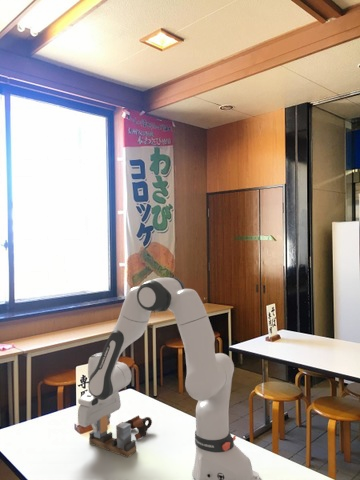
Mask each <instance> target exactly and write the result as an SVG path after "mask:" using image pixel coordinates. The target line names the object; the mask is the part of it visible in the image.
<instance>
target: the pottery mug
mask: <svg viewBox="0 0 360 480" xmlns="http://www.w3.org/2000/svg"><path fill="white" fill-rule="evenodd" d="M124 422H125V423H129V424H131V431H133V430H135V429H137V433H136V434H134V438H135V440H136V441H138V440H140V439H142V438H144V437H146V436H147V432H148V431H149V429H150V427H152V423H153V420H152V418H151V417H149V416H145V417H144V418H141V417H140V415H137V416H135V417H133V418H131V419H129V420H127V421H124ZM147 422H148V423H147ZM146 423H147V424H146Z"/></svg>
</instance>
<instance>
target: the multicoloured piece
mask: <svg viewBox="0 0 360 480" xmlns="http://www.w3.org/2000/svg"><path fill="white" fill-rule="evenodd" d="M96 426H98V427H99V431H98V432H96V433H95V432H94V437H97V438H101V437H103V436H105V435H106V434H108V429H109V428H108V427H109V425H108V422H107V415H106V416H104V417H102V418H101V419H100V420H98V421H97V424H96Z"/></svg>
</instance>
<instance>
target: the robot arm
mask: <svg viewBox="0 0 360 480" xmlns="http://www.w3.org/2000/svg"><path fill="white" fill-rule="evenodd" d="M124 298H125V299H124V301H123V303H122V305H121V309H120V312H119V316H118V319H117V321H116V323H115V326H114V327H113V329H112V332H111V333H110V335H109V337H108V338H107V341H106V343H105V345H104V347H103V350H102V351H101V352H97V353H95V354H92V355H91V356H90V357H89V358H88V362H87V377H88V383H87V385H88V386H87V387H88V388H87V390H86V391H85V392H84V394H82V395H81V396H80V397H79V398H78V400H77V401H78V402H77V403H78V404H79V406H78V409H77V423H78V425H79V426H80V427H83V428H87V427H89V426H91V427H92V431H93V432H95V433H96V432H98V431H99V427H98V426H96V424H97V421H98V420H100V419H101V418H102V417H104V416H106V415H107V422H108V426H109V423H110V420H111V416H112V415H111V414H112V413H113V414H114V413H115V412H117V411H119V410H120V409H121V407H122V406H121V405H122V403H121V396H120V393H119V391H120V390H122V389H124V388H125V387H127V386H128V385H130V384H131V382H132V379H133V374H132V370H131V368H130V366H129V365H127V364H126V363H125V362H122V361H121V362H120V361H119V358H120V356H121V354H122V353H123V352H124V351H125V350H126V348H128V347H129V346H130V345H131V344H133V343H134V342H135V341H137V340H138V339H140V338H141V337H142V336H143V335H144V333H145V331H146V329H147V327H148V323H149V320H150V317H151V314H152V312H167V311H168V310H169V311H170V312H171V313H172V315H174V316H173V317H174V319H175V322H176V325H177V329H178V332H179V334H180V337H181V341H182V344H183V348H184V353H185V354H184V355H185V364H186V377H185V382H184V385H185V390H186V393H188V395H189V396H190V397H191V398H192V399H194V400H196V401H197V403H196V406H195V432H194V443H195V459H194V465H193V469H192V477H193V478H194V480H261V479H260V478H261V477H260V474H259V472H257V471H255V470H253V465H252V462H251V459H250V458H249V456H247V455H246V454H245V453H244V452H243V451H242V450H241V449H240V448H239V447H238V446H237V445H236V444H235V442H234V441H236V439H237V438H236V437H237V435H236V434H234V436H233V437H232V434H231V432H230V430H229V429H230V428H229V426H230V425H229V424H230V423H229V420H230V419H229V409H230V408H229V405H230V400H231V399H230V398H231V390H232V383H233V376H234V372H235V364H234V362H233V359H232V358H231V357H230V356H229V355H227V354H226V353H223V352H218V353H216V348H215V341H216V336H215V333H214V330H213V327H212V324H211V322H210V319H209V314H208V313H207V310H206V307H205V305H204V302H203V301H202V299H201V297H200V295H199V294H198V292H197V291H196V290H195V289H193V288H186V286H185V284H184V282H183V281H182V280H181V279H179V277H178V278H177V277H176V276H175V277H174V276H167V277H157V278H153V279H151V280H147V281H145V282H143V283H142V284H141V285H140V286H139V285H138V286H133V287H132V288H130V289H129V291H128V292H127V294H126V295H125V297H124Z"/></svg>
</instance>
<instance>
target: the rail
mask: <svg viewBox="0 0 360 480" xmlns="http://www.w3.org/2000/svg"><path fill="white" fill-rule="evenodd" d="M125 422H126V421H124V422H123V421H121V422H119V423H118V424H117V425H116V426H115V429H116V430H115V431H116V434H115V435H116V437H113V432H112V431H109V432H107V434H106V435H105V436H103V437H101V438H97V437H94V432H93V430H92V431H90V432H89V438H88V440H89V441H88V442H89V444H91V445H93V446H96V447H99V448H102V449H104V450H107V451H110V452H111V453H115V454H117V455H121V456H122V457H126V458H129V457H130V456H132V455H134V453H136V452H137V443H136V441H137V440H136V439H133V440H132V429H131V424H129V423H125Z"/></svg>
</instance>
